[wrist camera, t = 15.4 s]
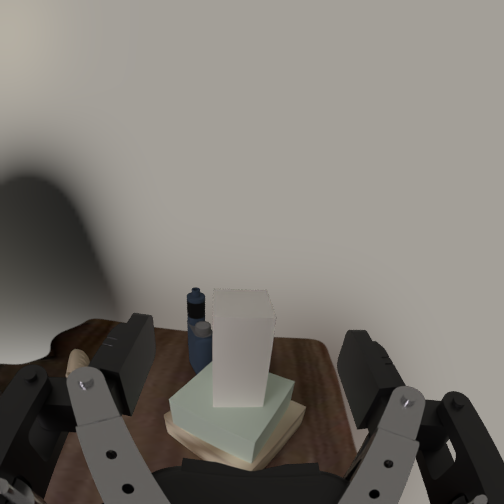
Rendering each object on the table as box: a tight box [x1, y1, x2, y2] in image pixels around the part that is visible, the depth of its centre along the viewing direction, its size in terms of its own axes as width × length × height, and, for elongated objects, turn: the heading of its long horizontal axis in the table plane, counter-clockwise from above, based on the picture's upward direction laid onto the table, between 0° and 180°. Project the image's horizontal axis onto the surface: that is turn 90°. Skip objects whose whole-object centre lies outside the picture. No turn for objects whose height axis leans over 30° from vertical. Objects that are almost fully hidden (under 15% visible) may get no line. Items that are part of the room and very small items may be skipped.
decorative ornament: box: [66, 349, 90, 378], centre depth 30 cm, size 4×8×5 cm, turn 20°
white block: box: [212, 289, 276, 407], centre depth 24 cm, size 5×5×10 cm
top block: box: [169, 362, 295, 464], centre depth 26 cm, size 9×9×4 cm
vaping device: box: [187, 288, 213, 374], centre depth 37 cm, size 3×5×12 cm, turn 28°
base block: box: [164, 400, 306, 471], centre depth 28 cm, size 11×11×4 cm
